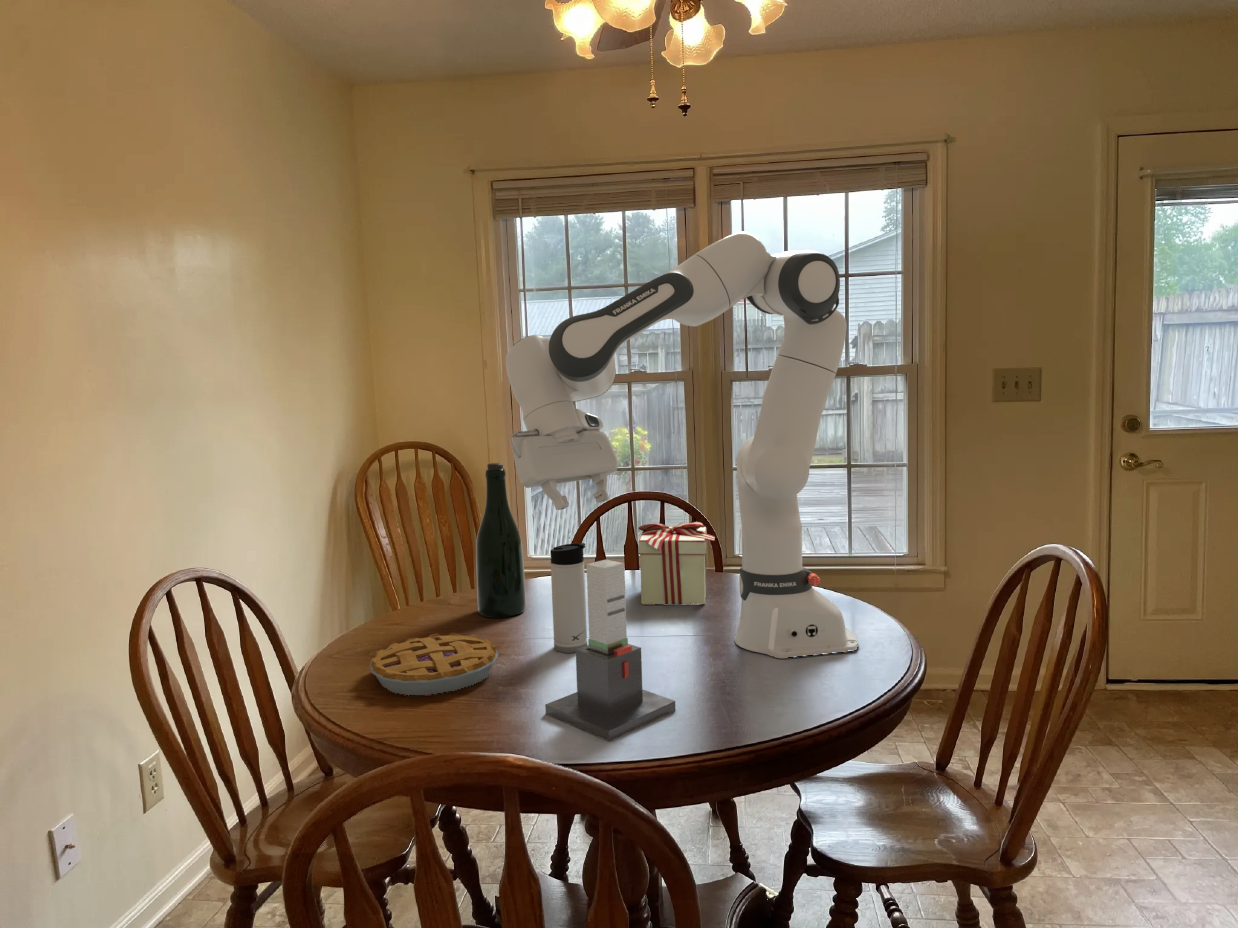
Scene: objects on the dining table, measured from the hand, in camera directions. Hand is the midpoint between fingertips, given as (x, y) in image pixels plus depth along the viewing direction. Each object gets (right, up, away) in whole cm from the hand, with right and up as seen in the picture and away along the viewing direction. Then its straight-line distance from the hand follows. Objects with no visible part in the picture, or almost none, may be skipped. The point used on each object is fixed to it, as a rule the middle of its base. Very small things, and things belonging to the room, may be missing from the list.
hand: (583, 504), depth 132 cm
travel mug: (-3, -28, +21) cm, 36 cm away
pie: (-26, -31, +10) cm, 41 cm away
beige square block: (+4, -25, -9) cm, 27 cm away
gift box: (+19, -24, +53) cm, 61 cm away
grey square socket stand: (+4, -31, -9) cm, 33 cm away
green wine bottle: (-20, -26, +46) cm, 57 cm away
